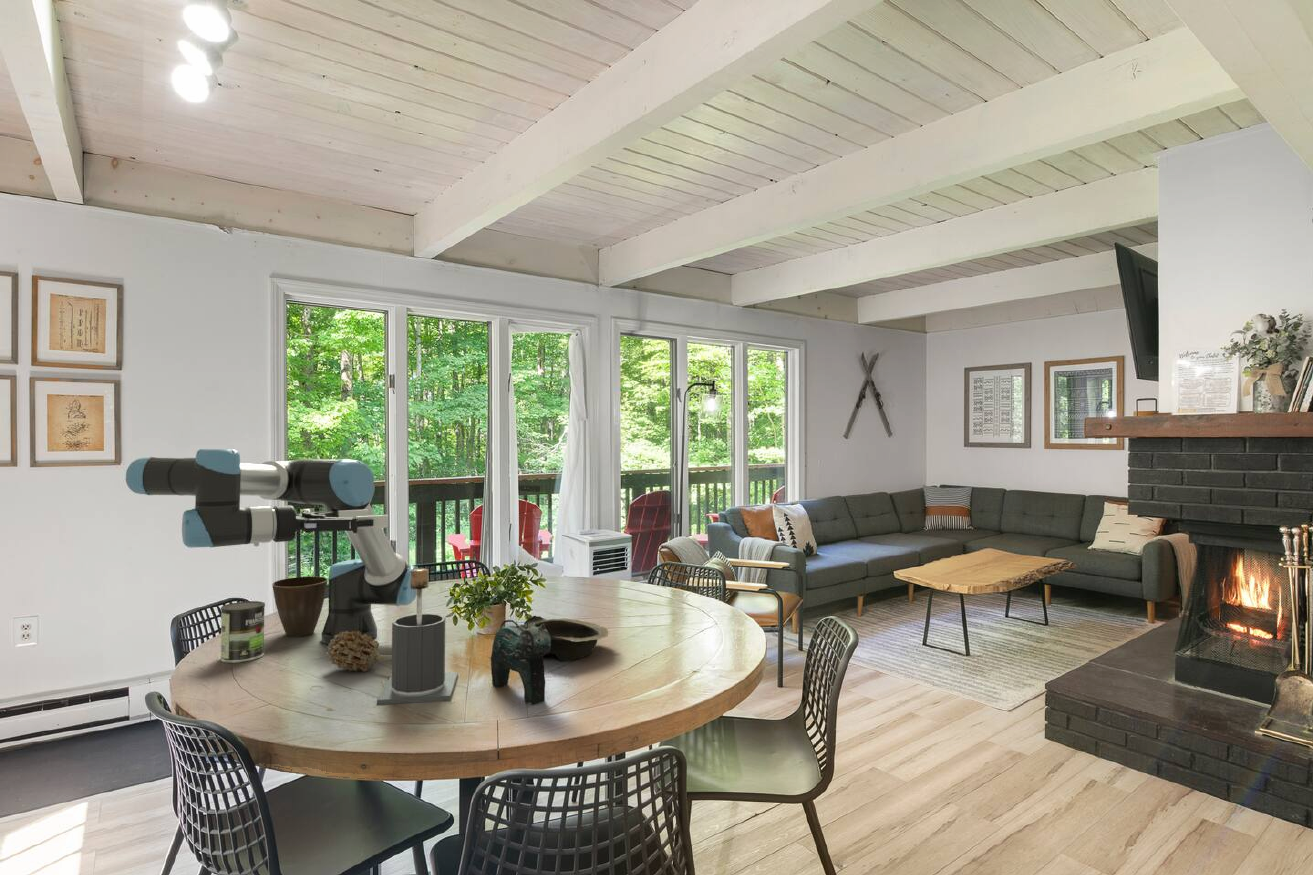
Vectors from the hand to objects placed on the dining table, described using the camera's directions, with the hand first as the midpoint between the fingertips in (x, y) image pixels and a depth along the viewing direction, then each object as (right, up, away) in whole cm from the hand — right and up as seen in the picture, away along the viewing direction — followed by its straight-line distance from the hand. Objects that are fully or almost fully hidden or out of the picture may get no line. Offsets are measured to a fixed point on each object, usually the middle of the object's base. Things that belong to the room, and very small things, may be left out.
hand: (377, 518), depth 156 cm
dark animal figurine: (+31, -42, +5) cm, 53 cm away
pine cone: (-11, -42, +20) cm, 48 cm away
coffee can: (-49, -42, +30) cm, 71 cm away
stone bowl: (+38, -43, +37) cm, 68 cm away
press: (+7, -42, +7) cm, 43 cm away
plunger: (+7, -40, +6) cm, 41 cm away
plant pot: (-45, -42, +52) cm, 81 cm away
